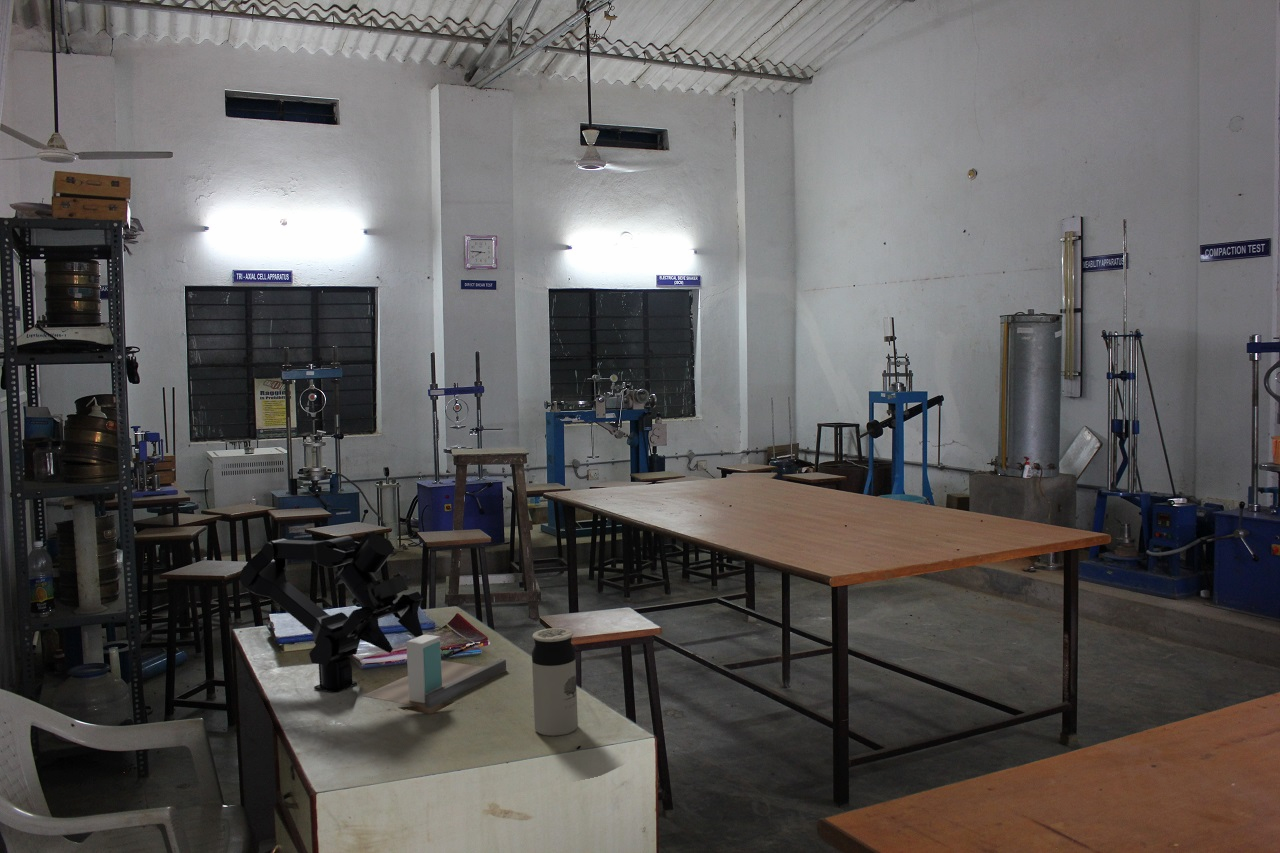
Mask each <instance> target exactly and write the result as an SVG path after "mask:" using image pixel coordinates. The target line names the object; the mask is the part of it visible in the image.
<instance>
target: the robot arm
mask: <svg viewBox="0 0 1280 853" xmlns="http://www.w3.org/2000/svg"><path fill="white" fill-rule="evenodd" d="M393 553H394V546H393V543H392V541H391V540H389V539H388V538H386V537H384V536H382V535H379V534H376V532H375V531H374V530H372V531H367V532H365V533H364V535H363V537H362V539H361V541H360V542H359V541H355V538H354V537H353V536H350V535H345V536H340V537H336V538H335V537H334V538H331V539H327V540H305V539H303V540H300V539H298V540H297V539H286V538H280V539H274V540H270V541H268V542H266V543H265V544H264V545H263V546H262V547H261V549H260V550H259V551H258V552H257V553H256V554H255V555H253V557H251V558H250V559H249V560H247V563H246V564H245V565H244V566H243V567H242V569H241V572H240V575H239V580H240V583H241V586H242V587H243V588H244V589H246V590H247V591H249V592H250V593H253V594H254V595H257V596H262V597H267V598H270V599H271V600H272V601H273V602H275V603H276V604H277V605H278V606H280V607H281V608H282V609H283V610H285V612H287V613H288V614H289V615H291V616H292V617H293V618H294V619H295V620H296V621H297V622H299V623H300V624H301V625H302V626H304V627H305V628H306V629H308V631H309V632H310V633H312V638H313V643H314V647H312V649H311V650H310V652H309V653H308V654H309V657H310V661H311V663H312V664H315V665H316V664H318V676H319V677H318V678H319V679H318V680H319V684H317V685H314V687H313V689H314V690H317V691H323V692H329V693H332V694H333V693H338V692H341V691H344V690H345V689H348V688H350V687H352V686H355V685H357V684H358V681H357V680H353V665H352V662H351V656H354V655H357V653H358V649H359V644H360V642H361V641H363V642H365V643H368V644H371V645H372V646H375V647H376V648H379V649H380V650H383V651H384V652H387V653H392V651H393V647H392V644H391V643H390V641H389V640H388V638H387V637H386V635H385V633H384V632H383V630H382V629H381V627H380V626H379V619H382V618H385V617H388V616H390V615H393V616H394V617H395V618H397V619H398V620H397V622H398V623H399V624H400V625H401V626H402V627H403V628H404V629H406V631H407V632H409V633H410V635H412V636H414V638H417V637H419V636H422V635H424V632H423V630H422V626H421V622H420V619H419V612H418V611H419V608H420V606H421V605H422V602H423V600H424V597H423V596H422V595H421V593H420V591H417V590H411V591H409V592H406V593H403V594H402V595H401V596H400V597H399V596H398V594H400V593H402V592H404V591H407V590H409V586H410V585H411V584H412V581H411V578H410V575H408V573H407V572H406V571H405V570H403V571H400V572H398V573H396V574H394V575H393V577H391V578H388V579H387V580H385V579H383V578H382V579H379V580H378V579H377V577H376V576H375V575H374V573H376V572H377V573H378V572H379V570H380V569H381V568H382V567H383V565H384V564H385V563H386V561H387V560H388V559H389V558H390V557H391V555H392V554H393ZM288 560H295V561H296V560H297V561H299V560H301V561H311V562H312V561H313V562H315V564H316V565H318V566H322V567H324V568H329V569H330V568H336V567H339V566H342V565H344V566H343V567H342V568H341V570H337V571H335V572H334V573H335V574H334V575H335V576H334V579H333V585H334V586H335V585H336V586H337V585H341V584H344V585H345V587H346V588H347V590H348V591H349V592H350V593H351V595H352V596H353V600H352V601H351V602H352V604H353V605H354V606H357V605H359V606H360V608H357V609H355V610H353V611H352V612H351V613H350V614H349V615H348V616H347V615H346V613H344V612H342V611H341V612H338V613H335V614H332V615H330V614H329V613H327V612H326V611H325V610H323V609H322V607H320V606H319V605H317V604H316V602H314V601H313V600H311V599H310V598H309V597H308V596H306V594H304V593H303V592H302V591H300V590H299V589H298V588H296V587H295V585H293V584H292V583H290V582H289V581H288V580H287V574H286V570H285V569H286V568H287V567H288ZM398 597H399V598H398ZM396 599H398V600H396ZM394 601H396V602H395V603H394Z"/></svg>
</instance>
